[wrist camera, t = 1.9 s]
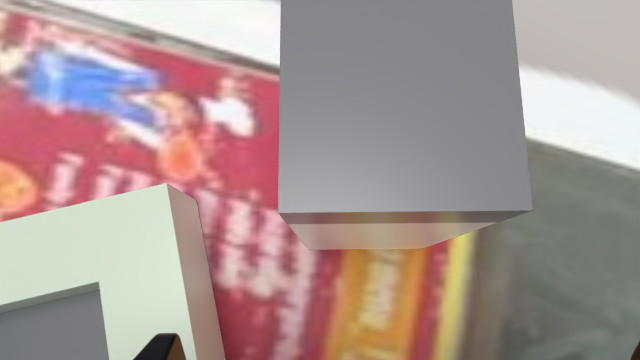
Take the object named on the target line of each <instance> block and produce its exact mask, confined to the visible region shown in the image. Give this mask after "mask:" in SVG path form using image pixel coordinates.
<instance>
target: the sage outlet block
mask: <svg viewBox="0 0 640 360" xmlns="http://www.w3.org/2000/svg"><path fill="white" fill-rule="evenodd" d="M158 333H177V334H178V335H179V336H180V339H181V342H182V346H183V349H184V353H185V356H186V360H226V358H225V353H224V347H223V342H222V336H221V331H220V326H219V320H218V315H217V309H216V304H215V298H214V293H213V287H212V282H211V277H210V271H209V266H208V260H207V255H206V249H205V244H204V239H203V233H202V228H201V222H200V217H199V211H198V206H197V201H196V200H195V199H193V198H191V197H189V196H188V195H186V194H184V193H183V192H181V191H179V190H177V189H176V188H174V187H172V186H170V185H169V184H167V183H165V184H161V185H157V186H152V187H148V188H144V189H140V190H136V191H131V192H127V193H123V194H119V195H114V196H110V197H106V198H102V199H97V200H93V201H89V202H85V203H80V204H76V205H72V206H68V207H63V208H59V209H55V210H51V211H47V212H42V213H38V214H34V215H30V216H25V217H21V218H17V219H13V220H8V221H4V222H0V360H133V359H134V358H135V357H136V356H137V355H138V353H139V352H140V351H141V350H142V349H143V348H144V347H145V346H146V345H147V343H148V342H149V341H150V340H151V339H152V338H153V337H154V336H155V335H157V334H158Z"/></svg>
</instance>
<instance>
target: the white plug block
mask: <svg viewBox="0 0 640 360" xmlns="http://www.w3.org/2000/svg"><path fill="white" fill-rule="evenodd" d="M532 210H533V209H532V199H531V189H530V178H529V168H528V158H527V148H526V138H525V128H524V118H523V108H522V98H521V88H520V77H519V67H518V57H517V47H516V37H515V27H514V17H513V8H512V0H281V31H280V111H279V191H278V213H279V214H280V216H281V217H282V218H283V219H284V220H285V222H286V223H287V224H288V225H289V226H290V228H291V229H292V230H293V231H294V233H295V234H296V235H297V236H298V237H299V239H300V240H301V241H302V242H303V244H304V245H305V246H306V247H307V248H308V250H349V249H423V248H425V247H428V246H431V245H434V244H437V243H440V242H443V241H446V240H449V239H451V238H454V237H457V236H460V235H463V234H466V233H469V232H472V231H475V230H477V229H480V228H483V227H486V226H489V225H492V224H495V223H498V222H501V221H503V220H506V219H509V218H512V217H515V216H518V215H521V214H524V213H527V212H529V211H532Z"/></svg>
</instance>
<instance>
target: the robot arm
mask: <svg viewBox="0 0 640 360" xmlns="http://www.w3.org/2000/svg"><path fill="white" fill-rule="evenodd" d="M133 360H186V356H185V353H184V349H183V346H182V342H181V339H180V336H179V335H178V334H177V333H158V334H157V335H155V336H154V337H153V338H152V339H151V340H150V341H149V342H148V343H147V345H146V346H145V347H144V348H143V349H142V350H141V351H140V352H139V353H138V355H137V356H136V357H135V358H134V359H133ZM631 360H640V341H639V343H638V345H637V347H636V349H635V351H634V352H633V354H632V356H631Z"/></svg>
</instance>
